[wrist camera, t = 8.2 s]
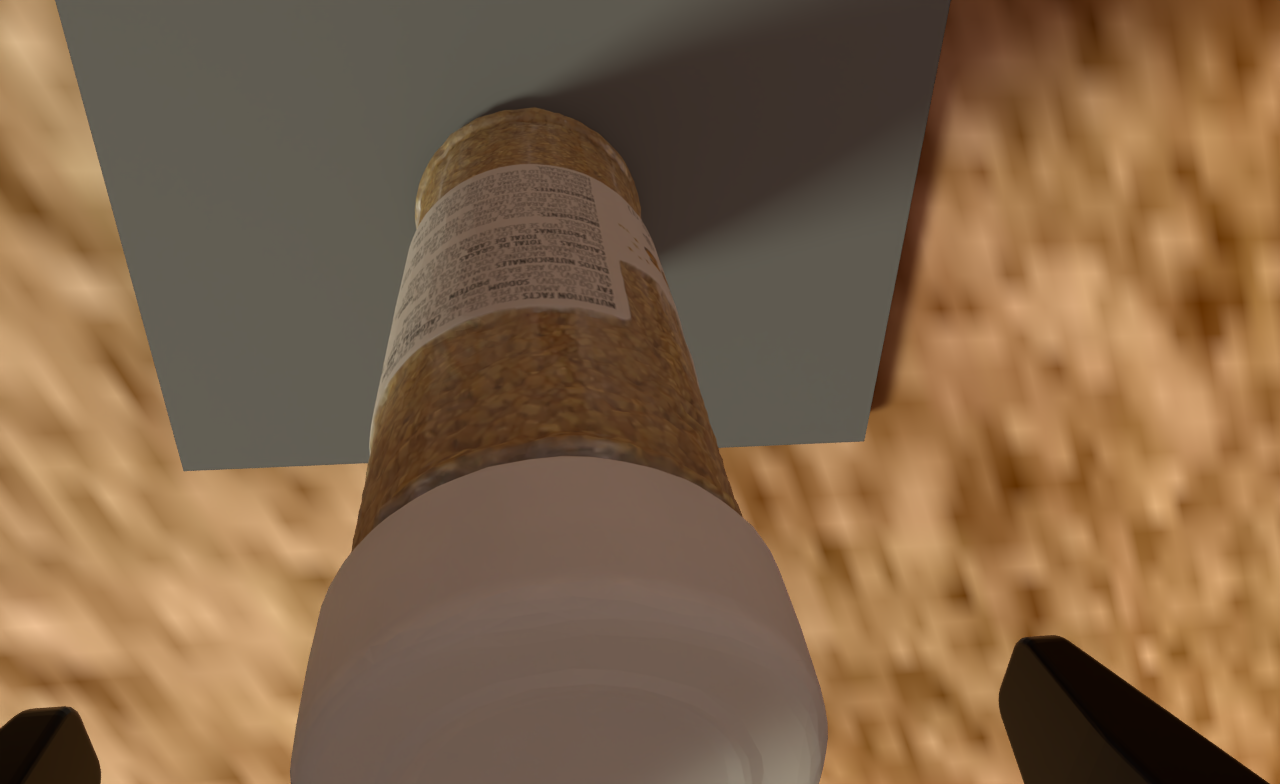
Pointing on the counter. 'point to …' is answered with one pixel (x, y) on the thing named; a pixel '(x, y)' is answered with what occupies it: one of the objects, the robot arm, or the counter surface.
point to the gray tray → (448, 100)
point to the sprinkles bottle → (549, 512)
